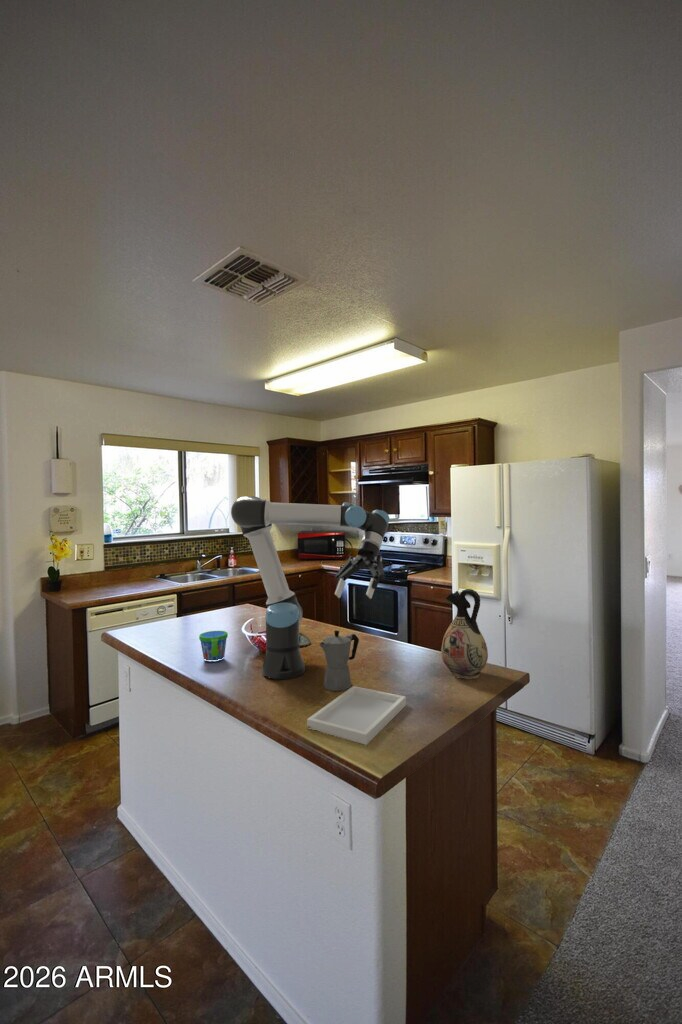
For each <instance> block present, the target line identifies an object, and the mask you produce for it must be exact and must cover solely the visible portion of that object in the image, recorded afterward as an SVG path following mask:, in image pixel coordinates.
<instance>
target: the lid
mask: <svg viewBox="0 0 682 1024" xmlns="http://www.w3.org/2000/svg"><path fill="white" fill-rule="evenodd" d="M310 644H311V640H310V637H308V636H307V635H305V633H304V634H303V633H301V632H299V648H302V647H301V646H305V647H307V646H309V645H310ZM306 645H307V646H306Z"/></svg>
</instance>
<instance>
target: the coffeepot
mask: <svg viewBox="0 0 682 1024" xmlns="http://www.w3.org/2000/svg"><path fill="white" fill-rule="evenodd" d="M333 633H334V635H332V636H327V637H325V638H323V639H322V641H321V642H320V643H319V645H318V646H319V647H321V649H322V650H323V652H324V658H325V661H326V666H325V672H324V679H323V686H324V688H325V689H326V690H327V691H331V690H332V692H343V691H347V690H348V689H350V688H351V687H353V686H352V685H353V684H352V680H351V674H350V669H349V665H348V661H349V660H350V661H351V660H354V659H355V658H356V655H357V654H356V653H357V649H358V645H359V643H360V642H359V641H360V639H359V637H358V636H357V635H356V634H355V633H352V634H348V635H344V636H343V635H339V634H340V631H339V630H334V631H333ZM352 641H353V642H352ZM352 643H353V646H352V650H351V645H352ZM350 650H351V651H350ZM350 653H351V655H350Z"/></svg>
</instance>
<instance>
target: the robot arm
mask: <svg viewBox="0 0 682 1024" xmlns="http://www.w3.org/2000/svg"><path fill="white" fill-rule="evenodd" d="M230 515H231V518H232V520H233V522H234V523H235V524H236V525H237V526H239V527H240V530H241V533H242V535H243V537H245V538H247V539H248V541H249V544H250V547H251V550H252V553H253V556H254V560H255V562H256V565H257V568H258V571H259V574H260V575H259V576H260V577H261V580H262V583H263V586H264V589H265V592H266V595H267V599H266V602H265V605H266V607H267V608H266V610H265V615H264V618H265V630H266V631H265V639H266V640H265V642H266V645H265V647H266V649H265V650H266V651H265V655H264V657H263V661H262V666H261V675H262V674H263V675H264V676H267V677H270V678H275V679H274V680H289V678H290V679H293V678H298V677H300V676H301V675H303V674H304V673H305V671H306V667H305V666H306V665H305V662H304V659H303V656H302V653H301V651H300V647H299V633H300V626H301V623H302V620H303V616H304V615H303V614H304V613H303V608H302V607H301V605H300V603H299V601H298V599H297V596H296V593H295V591H292V590H290V588H289V584H288V582H287V579H286V575H285V572H284V570H283V566H282V564H281V561H280V557H279V554H278V551H277V549H276V545H275V543H274V540H273V536H272V533H271V530H272V528H273V525H300V526H301V525H302V526H326V527H345V528H347V527H349V528H357V529H358V530H361V531H364V532H363V536H362V539H361V541H360V545H359V547H358V549H357V555H356V557H353V556H352V555H350V556H349V557H348V559H347V560H346V561H345V563H344V565H343V566H342V567H341V568H340V569H339V570H338V572H337V573H336V574H335V578H336V580H337V584H336V586H335V587H336V588H335V591H334V595H335V596H336V598H337V599H341V596H342V594H343V591H344V589H345V585H346V580H348V579H349V578H350V577H352V575H353V574H355V573H356V572H357V571H359V570H365V569H366V570H368V569H369V571H370V573H371V575H372V577H370V581H369V585H368V587H367V589H366V593H365V595H366V597H367V598H368V599H370V600H371V599H372V598H373V595H374V592H375V590H376V589H377V588H378V585H379V582H380V581H385V579H386V577H385V570H384V566H383V563H384V562H383V561H384V558H383V556H381V555H380V554H379V552H380V549H381V547H382V544H383V540H384V539H385V536H386V532H387V529H388V527H389V522H390V516H389V514H388V513H387V512H386V511H384V510H380V509H375V510H372V512H370V511H367V510H366V509H364V508H363V507H362V506H359V505H354V504H352V503H350V502H346V501H344V502H343V503H342V505H339V504H321V503H320V504H317V503H316V504H315V503H295V502H294V503H290V502H271V501H270V500H269V499H267V498H266V499H264V498H260V497H259V496H250V495H248V496H247V495H245V496H244V495H243V496H240V497H239V498H237V499H236V500H235V501H234V502H233V504H232V506H231V508H230ZM374 563H376V568H377V571H376V569H375V566H374ZM263 675H262V676H263ZM264 676H263V677H264ZM267 677H266V678H267ZM270 678H269V679H270Z"/></svg>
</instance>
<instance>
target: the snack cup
mask: <svg viewBox="0 0 682 1024" xmlns="http://www.w3.org/2000/svg"><path fill="white" fill-rule="evenodd" d="M198 637H199V638H198V639H199V641H200V645H201V646H200V647H201V652H202V657H203V660H204V659H206V660H218V659H222V658H223V657H224V658H225V656H226V655H225V654H226V645H227V638H228V632H227V631H225V630H210V631H205V632H203V633H200V634H199V636H198Z"/></svg>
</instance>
